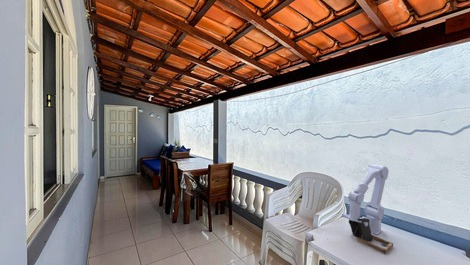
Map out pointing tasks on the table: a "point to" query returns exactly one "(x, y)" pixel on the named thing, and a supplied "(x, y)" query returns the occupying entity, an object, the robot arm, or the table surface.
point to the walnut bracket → (385, 250)
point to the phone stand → (363, 230)
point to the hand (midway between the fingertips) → (353, 232)
